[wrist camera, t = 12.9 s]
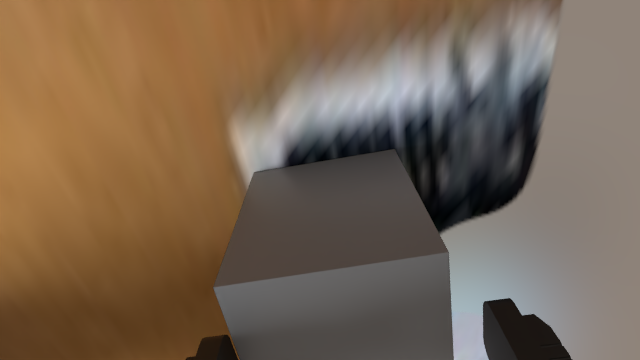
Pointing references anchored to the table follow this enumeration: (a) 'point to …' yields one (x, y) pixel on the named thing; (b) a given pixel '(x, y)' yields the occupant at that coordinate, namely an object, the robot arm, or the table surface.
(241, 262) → the cover
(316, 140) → the table surface
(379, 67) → the table surface
